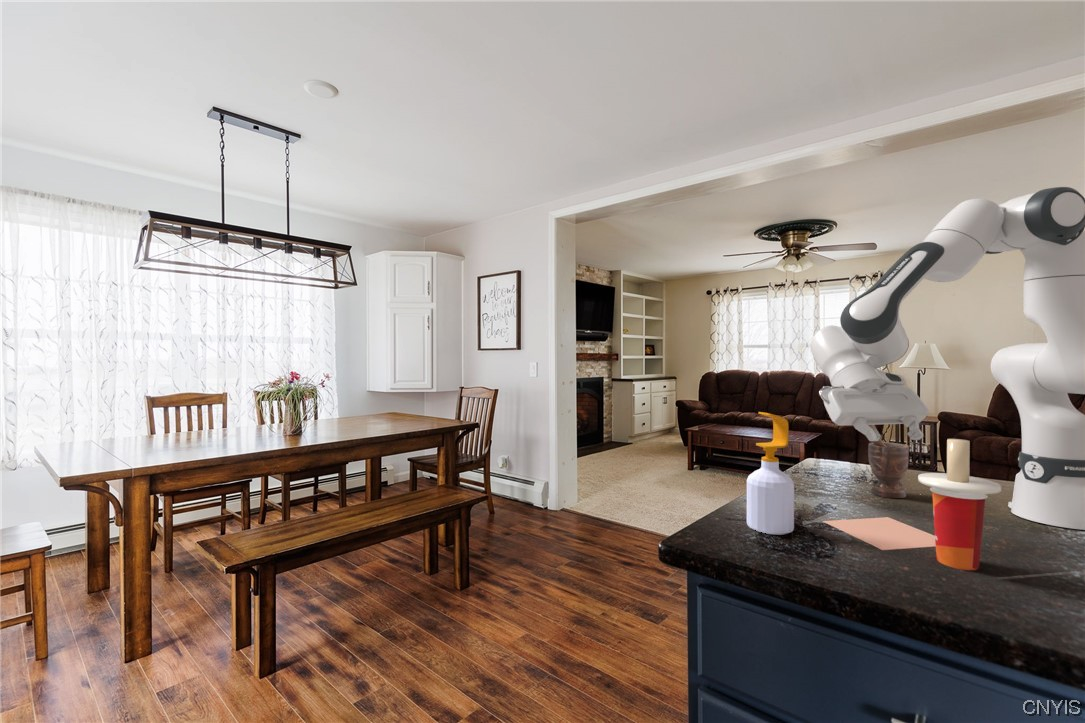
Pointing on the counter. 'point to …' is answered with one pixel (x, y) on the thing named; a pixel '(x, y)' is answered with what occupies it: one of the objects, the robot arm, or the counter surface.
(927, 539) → the mat
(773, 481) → the soap bottle
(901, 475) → the mortar and pestle
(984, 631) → the counter surface
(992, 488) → the lid
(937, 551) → the paper cup
